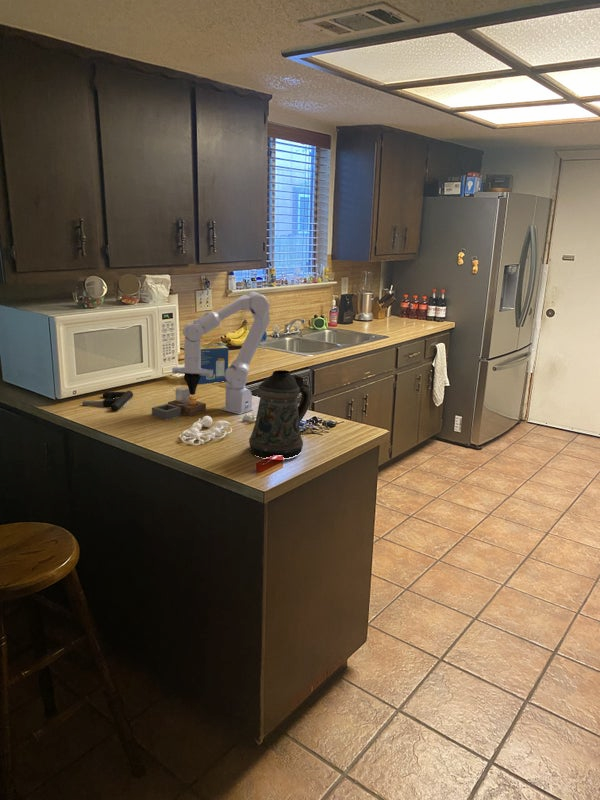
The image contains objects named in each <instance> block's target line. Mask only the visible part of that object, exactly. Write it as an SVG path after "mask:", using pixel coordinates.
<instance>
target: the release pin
mask: <svg viewBox="0 0 600 800" xmlns="http://www.w3.org/2000/svg"><path fill="white" fill-rule="evenodd" d="M197 400H198V398H197V396H190V397H189V405H190V406H195V405H196V401H197Z"/></svg>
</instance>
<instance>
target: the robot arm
mask: <svg viewBox="0 0 600 800" xmlns="http://www.w3.org/2000/svg"><path fill="white" fill-rule="evenodd" d="M270 307H271V304H270V302H269V300H268V298H267V297H266V296H265V295H264V294H262V293H258V292H256V291H254V290H253V291H249V292H247V293H246V294H242V295H241V296H239V297H237V298H236V299H235V300H233V301H232V302H231V303H229V304H227V305H225V306H224V307H222V308H221V309H219V310H217V311H216V312H215V311H212V310H211V311H205V312H204V315H202V316H201V317H198V318H197V319H195V318H194V319H193V320H192V322H187V323H186V324H185V325H184V327H183V329H182V335H183V336H184V348H183V352H184V354H183V355H184V359H183V360H184V363H183V364H184V366H181V367H177V366H174V367H172V369H171V373H172V374H182V375H183V379H184V381H185V382H186V386H187V388H189V392H190V395H191V396H194V395H195V394H196V392H197V386H198V385H199V384H198V382H199V380H200V378H201V375H203V376H209V377H212V376H213V370H207V369H202V368H201V344H202V343H201V339H202V337H203V335H205V334H208V333H209V332H211V331H213V330H214V329H216V328H218V327H219V326H220V325H221V322H222V321H223V320H225V319H226V318H228V317H231V316H232V315H234V314H236V313H238V312H240V311H248V312H249V311H250V313H251V316H252V318H253V323H252V324H251V327H250V329H249V331H248V332H247V335H246V337H245V339H244V341H243V343H242V345H241V348H240V349H239V352H238V354H237V356H236V358H235V359H234V360H233V361H232V362H231V364H230V365H229V366H228V368H227V369H226V371H225V373H224V376H225V379H226V380H227V382H225V383H226V384H225V402H224V403H225V406H223V407H220V409H219V410H221V411H226V412H229V413H234V414H237V415H241V414H245V413H247V412H251V411H253V410H254V409H253V408H252V405H253V400H252V399H253V394H252V391H251V389H248V388H247V387H246V384H247V381H248V374H249V372H250V364H251V362H252V359H253V358H254V355H255V353H256V351H257V349H258V347H259V345H260V343H261V341H262V339H263V336H264V334H265V332H266V331H267V328H268V326H269V324H270V320H271V319H270Z"/></svg>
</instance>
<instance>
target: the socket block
mask: <svg viewBox="0 0 600 800" xmlns="http://www.w3.org/2000/svg"><path fill="white" fill-rule="evenodd" d="M167 404H171V405H174V406H178V407H181V415H184V416H187V415H188V417H192V416H193V417H194V416H196V415H199V413H200V414H202V412H203V413H206V412H207V403H205V402H201V401H197V400H196V405H195V406H190V405H189V403H186V404H179V403H176V399H174V400H169V401H167Z"/></svg>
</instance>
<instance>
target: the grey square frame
mask: <svg viewBox="0 0 600 800" xmlns="http://www.w3.org/2000/svg"><path fill="white" fill-rule="evenodd" d="M151 416H152V417H153V418H158V419H160V420H161V419H162V420H164V421H168V420H171V418H172V419H173V418H174V417H175V418H178V417H181V416H182V414H181V407H178V406H174V405H171V404H168V403H164V404H160V405H156V406H153V407H151ZM175 418H174V419H175Z"/></svg>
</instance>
